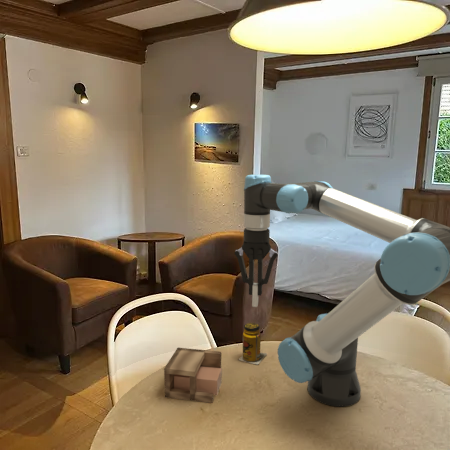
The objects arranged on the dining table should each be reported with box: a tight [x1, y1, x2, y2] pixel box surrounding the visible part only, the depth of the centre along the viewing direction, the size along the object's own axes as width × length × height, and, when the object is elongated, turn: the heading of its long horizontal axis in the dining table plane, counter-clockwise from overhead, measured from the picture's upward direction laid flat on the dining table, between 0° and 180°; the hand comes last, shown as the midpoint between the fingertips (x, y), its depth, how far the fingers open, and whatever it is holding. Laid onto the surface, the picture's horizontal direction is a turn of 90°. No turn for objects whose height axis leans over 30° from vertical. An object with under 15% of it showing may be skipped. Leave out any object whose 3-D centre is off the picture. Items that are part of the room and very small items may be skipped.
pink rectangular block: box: [174, 366, 223, 396], centre depth 126 cm, size 13×7×5 cm, turn 80°
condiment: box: [238, 322, 268, 365], centre depth 143 cm, size 7×8×12 cm
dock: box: [163, 347, 222, 404], centre depth 125 cm, size 14×13×9 cm
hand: (255, 305), depth 126 cm, fingers closed
